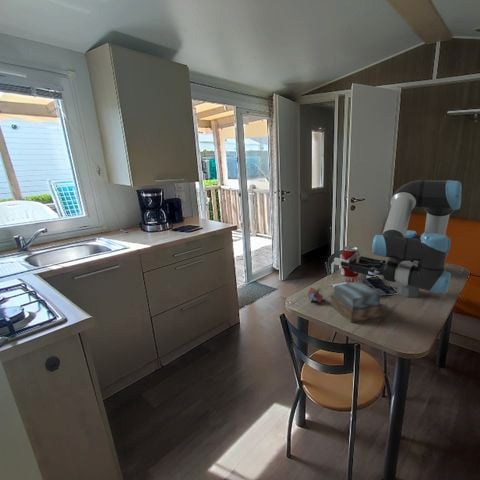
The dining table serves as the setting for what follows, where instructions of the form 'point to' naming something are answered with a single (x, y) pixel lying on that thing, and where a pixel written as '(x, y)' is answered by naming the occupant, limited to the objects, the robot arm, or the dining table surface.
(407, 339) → the dining table surface
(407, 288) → the coffeepot
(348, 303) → the grey brown square block
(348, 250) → the soda can
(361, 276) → the stack of blocks
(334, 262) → the robot arm
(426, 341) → the dining table surface
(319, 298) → the geometric puzzle
